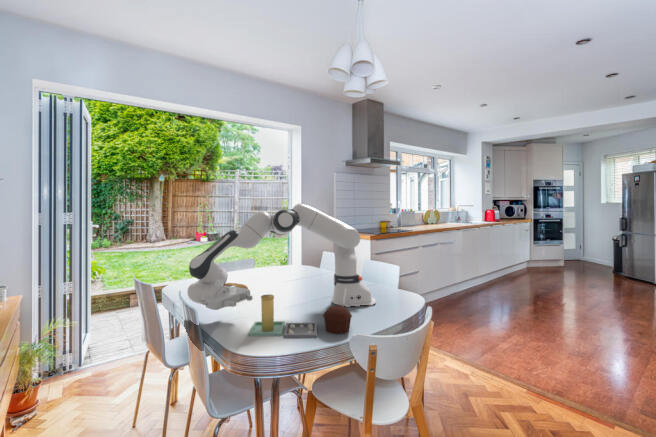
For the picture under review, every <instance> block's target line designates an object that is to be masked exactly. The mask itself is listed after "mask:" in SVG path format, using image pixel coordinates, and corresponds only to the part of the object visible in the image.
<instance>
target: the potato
mask: <svg viewBox="0 0 656 437" xmlns="http://www.w3.org/2000/svg"><path fill="white" fill-rule="evenodd" d="M229 285H235V286H236V287H240V288H245V289H249V287H248V286H247V285H245V284H242V283H236V282H234V283H233V282H226V283H225V285H224V286H229Z"/></svg>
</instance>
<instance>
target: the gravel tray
mask: <svg viewBox="0 0 656 437" xmlns="http://www.w3.org/2000/svg"><path fill="white" fill-rule="evenodd" d="M317 324H318V322H286V323H285V328H284V331H283V338H284V339H285V338H286V339H289V338H291V339H293V338H295V339H296V338H297V339H299V338H317V337H318V336H317V335H318V334H317V333H318V332H317V331H318V327H317V326H318V325H317Z"/></svg>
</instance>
